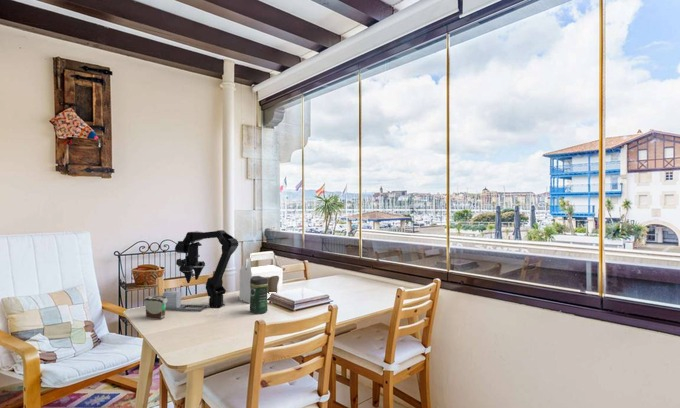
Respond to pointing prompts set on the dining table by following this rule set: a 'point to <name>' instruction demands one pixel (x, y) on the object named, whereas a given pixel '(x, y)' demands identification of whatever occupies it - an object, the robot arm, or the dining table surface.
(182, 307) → the rail
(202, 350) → the dining table surface
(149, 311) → the food container
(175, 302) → the medicine box
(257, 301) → the coffee jar
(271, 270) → the gable box
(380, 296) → the dining table surface
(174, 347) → the dining table surface
